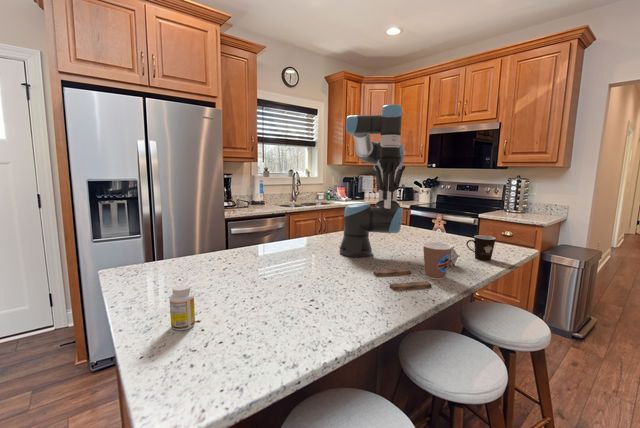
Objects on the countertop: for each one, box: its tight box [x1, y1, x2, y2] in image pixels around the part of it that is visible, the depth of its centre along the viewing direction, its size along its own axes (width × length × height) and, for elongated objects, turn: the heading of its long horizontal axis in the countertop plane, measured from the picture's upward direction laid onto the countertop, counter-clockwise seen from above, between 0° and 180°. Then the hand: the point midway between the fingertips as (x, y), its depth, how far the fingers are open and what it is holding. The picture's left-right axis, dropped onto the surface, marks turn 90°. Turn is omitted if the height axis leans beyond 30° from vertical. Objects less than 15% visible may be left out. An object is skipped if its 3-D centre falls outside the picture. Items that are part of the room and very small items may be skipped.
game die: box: [448, 246, 461, 267], centre depth 134 cm, size 9×8×10 cm
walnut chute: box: [372, 268, 432, 291], centre depth 116 cm, size 14×17×1 cm
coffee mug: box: [465, 234, 497, 262], centre depth 145 cm, size 12×9×10 cm
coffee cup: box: [422, 241, 453, 280], centre depth 120 cm, size 10×10×12 cm
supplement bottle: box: [169, 284, 196, 332], centre depth 80 cm, size 6×6×10 cm
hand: (387, 208), depth 127 cm, fingers closed
